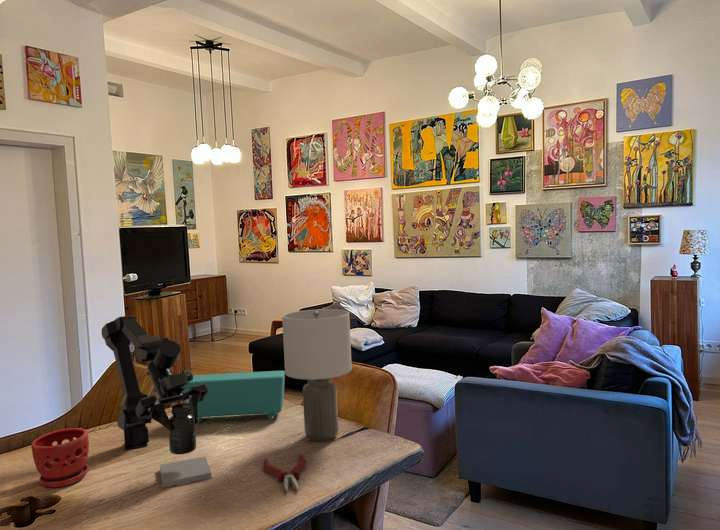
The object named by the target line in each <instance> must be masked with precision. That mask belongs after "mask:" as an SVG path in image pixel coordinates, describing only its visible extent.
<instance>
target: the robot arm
mask: <svg viewBox="0 0 720 530" xmlns="http://www.w3.org/2000/svg"><path fill="white" fill-rule="evenodd" d="M101 337H102V339H104V342H105V346H106V347H108V348H109V349H110V350H111V351H112V352H113V356H114V359H115V363H116V364H115V365H116V368H117V372H118V377H119V381H120V386H121V389H122V394H123V398H122V400H121V403H120V405H119V407H120V412H119V415H118V417H117V419H116V424H117V428H119V429H121V430H123V438H124V439H123V440H124V445H123V446H124V450H126V451H127V450H131V449H137V448H142V447H147V446H148V443H149V442H150V439H149V438H150V437H149V426H147V424H151V423H152V420H154V421H155V422H157V423H159V425H162V426H163V427H164V428H166V430H168V432H169V431H170V432H171V431H173V427H172V424H171V422H170V420H169V419H170V417H169V416H168V413H167V412H166V410H165V406H167V405H171V404H175V403H179V402H184V400H186V401H187V403H188V404H190V405H191V412H190V413H191V414H193V415H194V417H195V425H197V423H198V419H199V418H198V409H197V406H198V403H199V402H201V401H203V400H204V398H205V396H206V394H207V393H208V391H209V390H208V388H207V386H206V385H205V384H199V385H194V386H192V387H191V389H190V390H189V392H186V393H183V390H184V389H185V387H184V385H186V384H189V383H188V382H190V381H191V380H193V372H192V371H191V369H190V368H187V369H184V370H182V371H181V373H180V372H179V373H174V372H173V370H172V368H173V367H174V365H175V364H176V362H177V359H178V358H179V356H180V353H181V351H182V349H181V346H180V344H178V343H177V342H176V341H173V340H171V339H170V338H169V337H167V336H166V337H162V338H159V337H158V336H155V335H150V334H149V333H148V332H147V331H146V330H145V329H144V327H143V326H142V325H141V324H140V323H139V322H138V321H137V319H136V316H135V315H124V316H118V317H116V318H115V319H114V320H112V321H110V322H107V323H105V324H104V325H103V327H102V328H101ZM131 343H132V345H133V346H134V347H135V357H136V359H137V360H139V362H140V363H142V364H144V363H149V364H148V365H147V369H146V370H147V371H146V376H150V379H151V382H152V383H153V386H154V388H153V391H154V393H157V395H158V398H157V397H156V395H150V396H148V394H146V393H143V392H142V391H141V390H140V386H139V381H138V378H137V374H136V369H135V364H134V361H133V360H134V359H133V357H132V352H131V349H130V348H131V347H130V346H131Z"/></svg>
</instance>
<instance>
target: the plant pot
mask: <svg viewBox="0 0 720 530" xmlns="http://www.w3.org/2000/svg"><path fill="white" fill-rule="evenodd" d="M74 438H75V439H74ZM66 440H67V441H68V442H65V443H63V442H64V441H66ZM55 442H57V444H56V445H53V443H55ZM89 447H90V441H89V433H88V431H87V429H85V428H81V427H70V428H63V429H57V430H54V431H51V432H48V433H45V434H42V435H41V436H39V437H37V438H35V439H34V440H33V441H32V442H31V453H32V459H33V462H34V465H35V468H36V470H37V472H38V473H39V474H40V477H39V482H40V483H41V485H42V486H45V487H49V488H59V486H60V487H63V486H64V485H65V486H69V485H68V484H70V485H72V484H74V483H76V482H78V481H80V480H82V479H83V478H85V476H86V475H87V474H88V473H89V470H90V468H89V465H88V464H87V461H88V458H89V452H90V451H89V450H90V448H89ZM71 483H72V484H71Z"/></svg>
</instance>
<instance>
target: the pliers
mask: <svg viewBox="0 0 720 530" xmlns="http://www.w3.org/2000/svg"><path fill="white" fill-rule="evenodd" d="M298 460H300V461H298V462H297V463H296V465H294V467H293V468H292V469H291V470H290V471H289V473H288V472H287V471H285V470H282V469H280V468H279V467H276V466H274V465H272V464H270V463H269V461H268V458H264V459H263V461H262V467H263V471H264V472H265V474H267V475H270V476H271V477H273V478H276V482H277V483H278V484H280V483H282V482H283V487H284V489H285V493H286V494H287V493H288V492H289V485H290V484H291V485H292V487H293V488H294V489H295V490H296V491H298V492H299V490H300V489H299V485H298V482H297V481H299V480H301V472H303V470H304V469H305V468H306V465H307V461H306V457H305V456H304V454H302V453H299V454H298Z"/></svg>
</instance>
